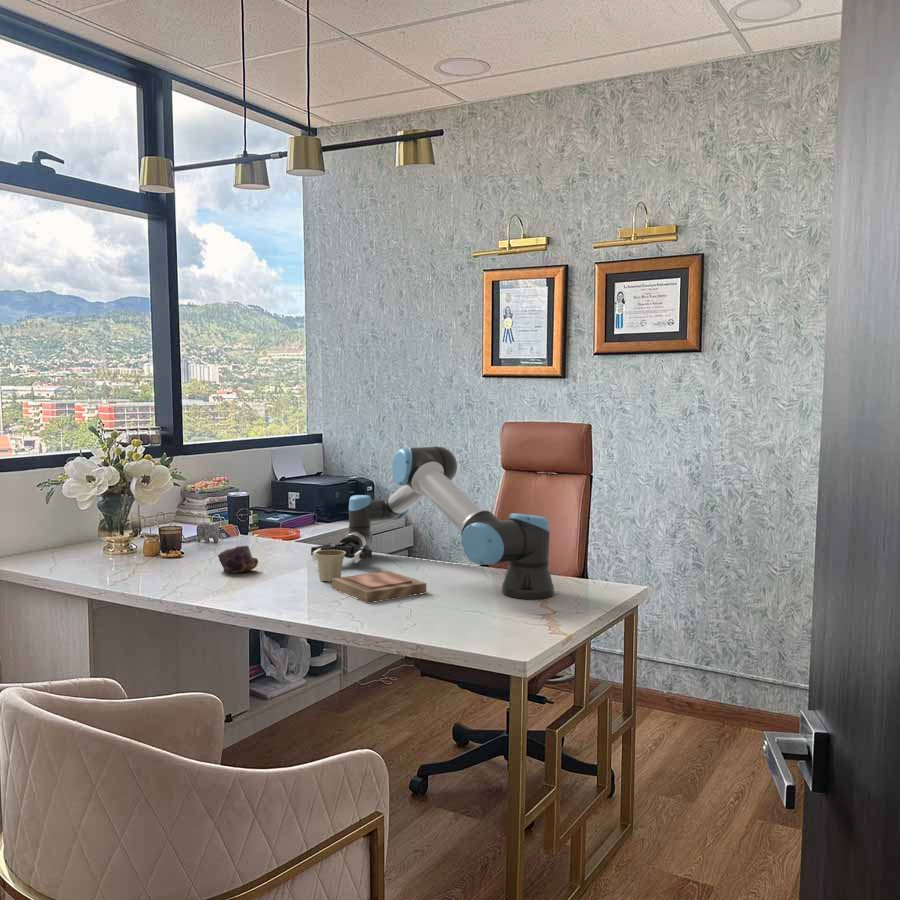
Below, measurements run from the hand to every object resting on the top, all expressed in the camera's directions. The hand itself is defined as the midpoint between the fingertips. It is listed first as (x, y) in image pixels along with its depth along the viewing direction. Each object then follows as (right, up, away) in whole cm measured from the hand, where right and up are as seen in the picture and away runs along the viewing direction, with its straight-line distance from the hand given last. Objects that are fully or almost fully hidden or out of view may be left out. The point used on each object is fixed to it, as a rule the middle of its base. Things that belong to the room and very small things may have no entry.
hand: (334, 557), depth 263 cm
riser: (+15, -7, -19) cm, 25 cm away
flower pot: (-1, -6, -6) cm, 9 cm away
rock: (-32, -5, +3) cm, 32 cm away
